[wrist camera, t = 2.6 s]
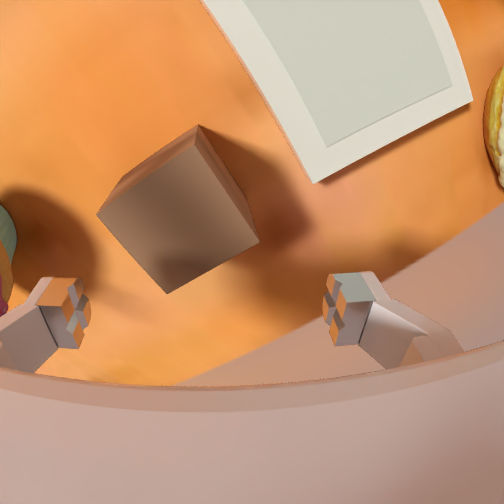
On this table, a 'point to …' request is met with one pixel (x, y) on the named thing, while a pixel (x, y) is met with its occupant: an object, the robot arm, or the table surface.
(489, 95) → the decorated donut
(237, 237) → the walnut cube
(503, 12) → the table surface
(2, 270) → the cupcake
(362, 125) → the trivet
